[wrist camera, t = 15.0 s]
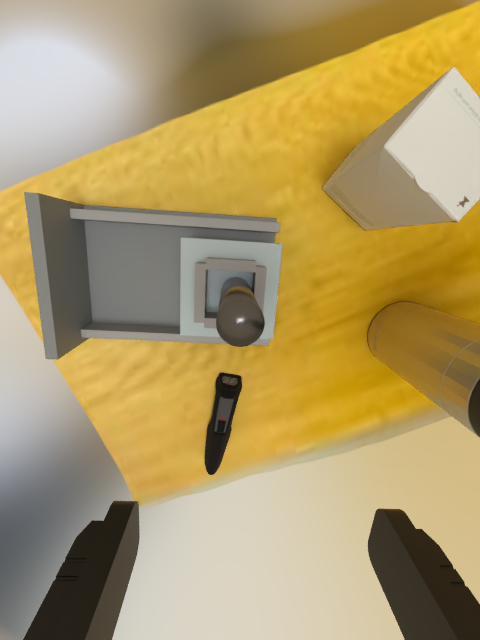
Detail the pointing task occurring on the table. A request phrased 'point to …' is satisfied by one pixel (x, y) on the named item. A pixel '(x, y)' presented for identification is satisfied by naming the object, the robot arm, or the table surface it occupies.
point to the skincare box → (416, 162)
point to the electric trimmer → (221, 419)
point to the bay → (119, 269)
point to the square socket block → (214, 269)
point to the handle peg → (239, 314)
